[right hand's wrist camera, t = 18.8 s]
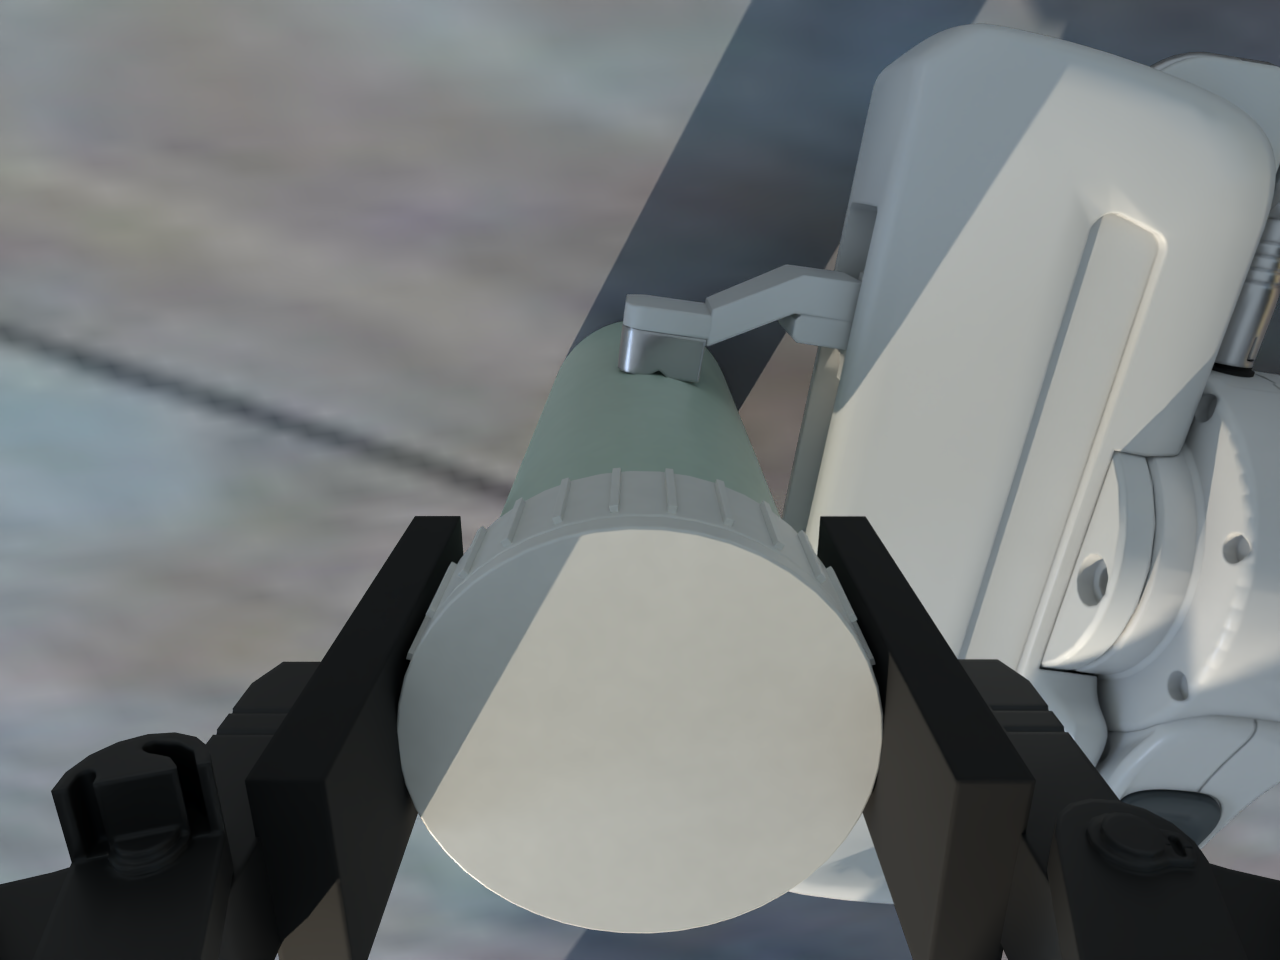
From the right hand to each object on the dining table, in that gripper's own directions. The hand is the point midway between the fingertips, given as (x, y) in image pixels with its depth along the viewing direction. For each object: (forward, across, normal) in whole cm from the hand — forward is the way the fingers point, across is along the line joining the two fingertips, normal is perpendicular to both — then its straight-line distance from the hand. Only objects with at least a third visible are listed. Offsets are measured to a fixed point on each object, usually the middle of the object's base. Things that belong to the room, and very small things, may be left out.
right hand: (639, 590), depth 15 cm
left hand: (+6, -1, 0) cm, 6 cm away
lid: (-4, 0, 0) cm, 4 cm away
